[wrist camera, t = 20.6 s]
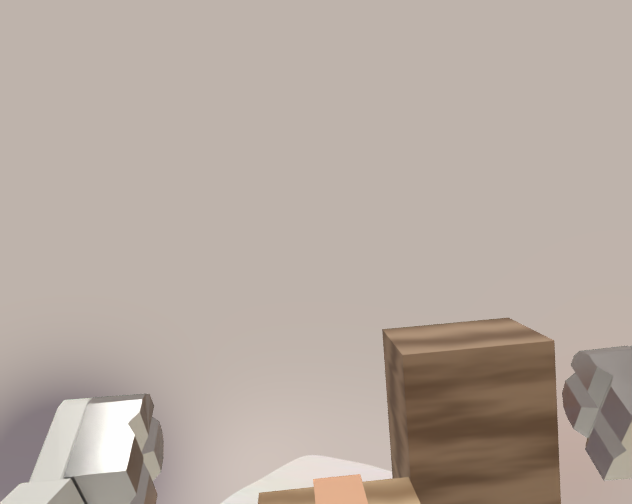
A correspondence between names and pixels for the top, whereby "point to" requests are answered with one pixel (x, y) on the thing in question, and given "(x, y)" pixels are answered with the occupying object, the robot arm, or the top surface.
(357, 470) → the top surface
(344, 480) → the long slim case
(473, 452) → the brown wooden stepped block
